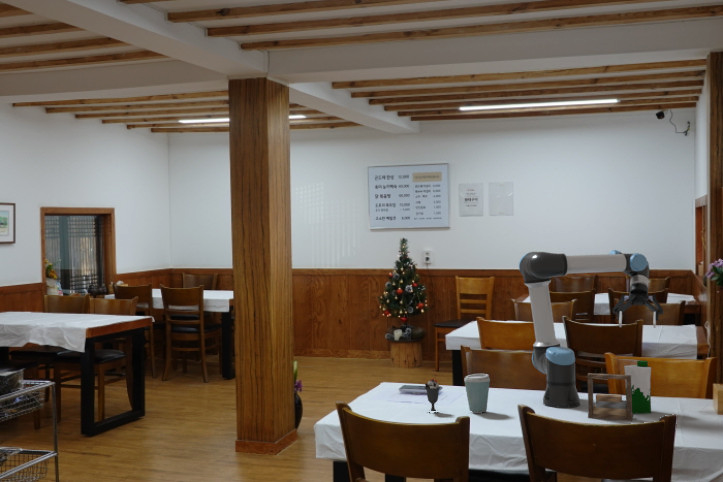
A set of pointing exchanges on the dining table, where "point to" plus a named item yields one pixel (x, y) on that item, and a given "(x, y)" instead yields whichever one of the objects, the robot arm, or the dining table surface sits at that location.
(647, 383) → the soya milk
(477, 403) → the disposable coffee cup
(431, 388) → the sundae
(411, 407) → the dining table surface
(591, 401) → the offcut rack
